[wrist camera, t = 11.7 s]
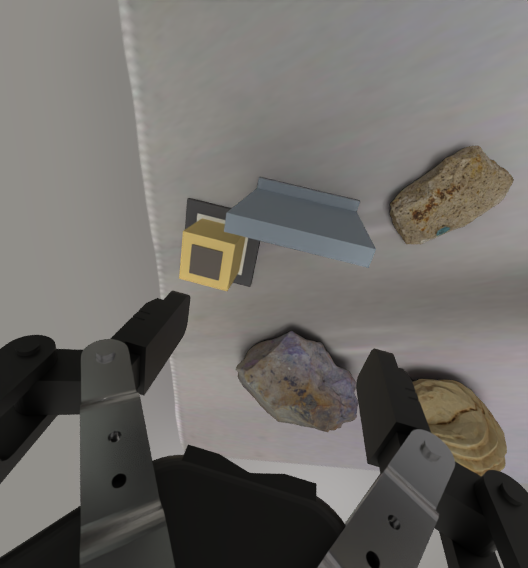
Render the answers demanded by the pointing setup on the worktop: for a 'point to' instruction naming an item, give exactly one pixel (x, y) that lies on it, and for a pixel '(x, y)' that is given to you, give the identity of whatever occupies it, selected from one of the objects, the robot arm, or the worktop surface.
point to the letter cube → (210, 254)
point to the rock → (449, 196)
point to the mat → (218, 214)
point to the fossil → (462, 424)
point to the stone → (299, 383)
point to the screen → (302, 221)
